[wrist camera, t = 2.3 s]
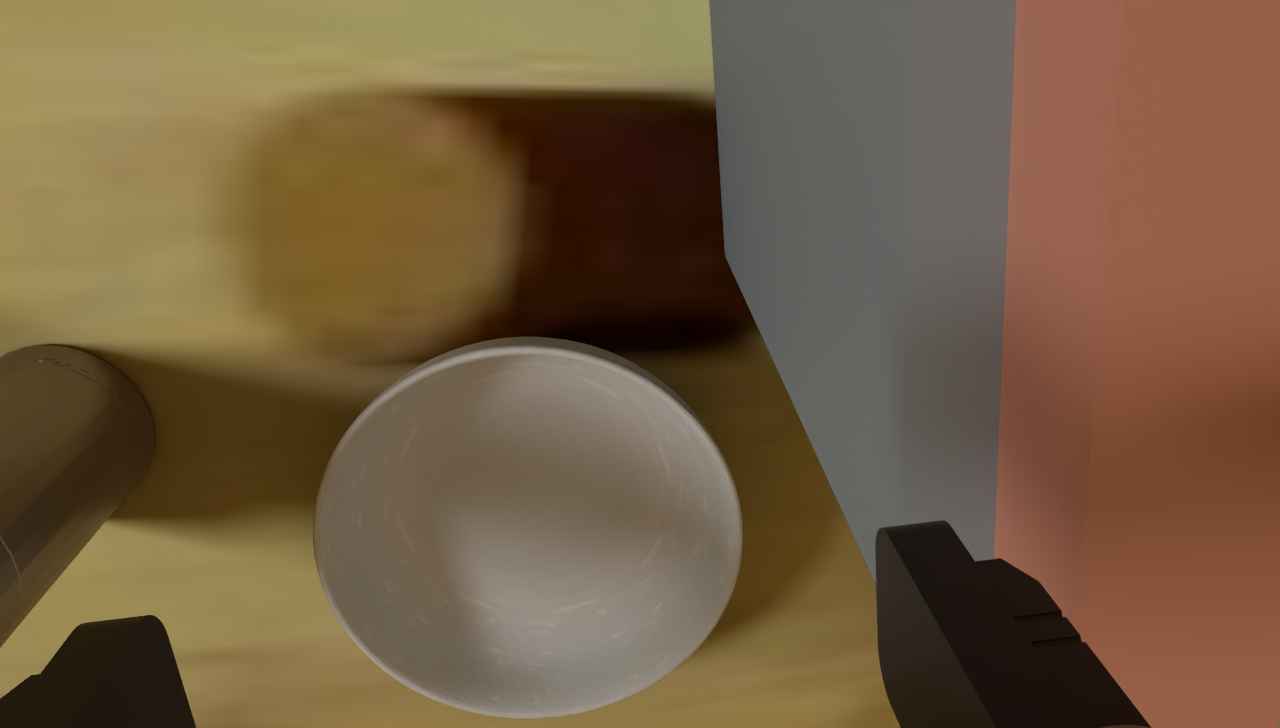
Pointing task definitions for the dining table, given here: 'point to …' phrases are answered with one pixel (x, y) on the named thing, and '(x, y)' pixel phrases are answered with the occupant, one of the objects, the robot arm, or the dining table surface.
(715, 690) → the dining table surface
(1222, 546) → the bar
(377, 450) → the serving bowl
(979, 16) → the stand
